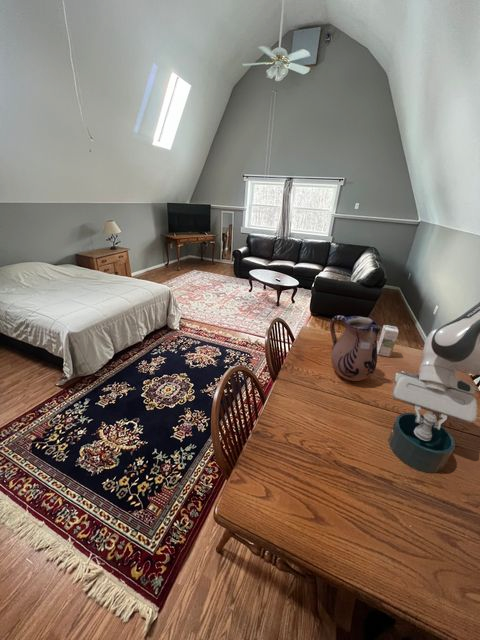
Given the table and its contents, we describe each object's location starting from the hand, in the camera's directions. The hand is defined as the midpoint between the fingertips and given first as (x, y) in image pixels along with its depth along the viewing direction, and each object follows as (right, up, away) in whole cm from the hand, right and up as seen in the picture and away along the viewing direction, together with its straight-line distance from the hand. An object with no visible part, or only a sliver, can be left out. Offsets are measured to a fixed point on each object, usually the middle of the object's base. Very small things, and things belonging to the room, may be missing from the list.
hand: (427, 426), depth 76 cm
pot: (0, -9, +5) cm, 11 cm away
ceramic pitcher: (-8, +7, +40) cm, 41 cm away
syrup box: (+17, +13, +56) cm, 61 cm away
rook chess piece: (0, -4, +2) cm, 5 cm away
